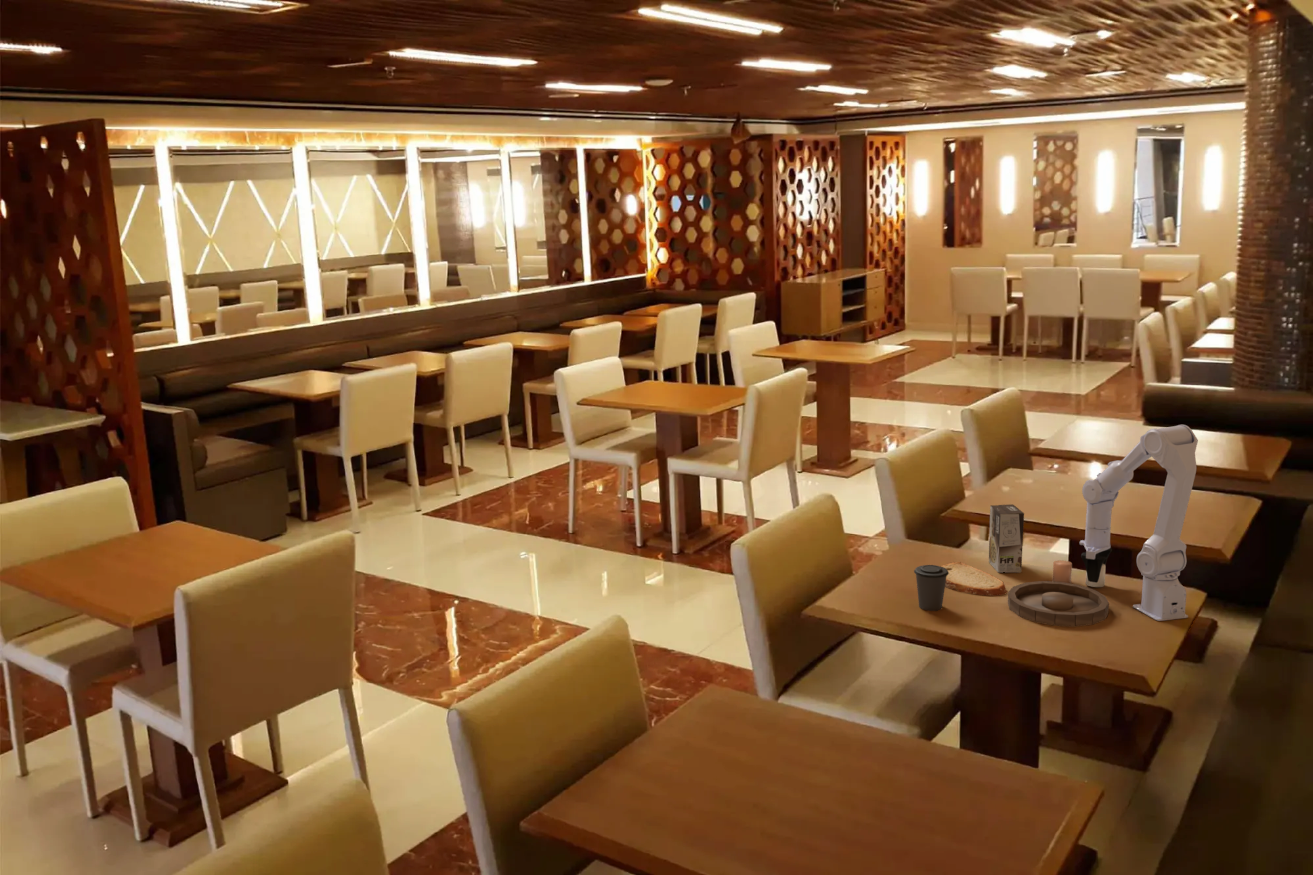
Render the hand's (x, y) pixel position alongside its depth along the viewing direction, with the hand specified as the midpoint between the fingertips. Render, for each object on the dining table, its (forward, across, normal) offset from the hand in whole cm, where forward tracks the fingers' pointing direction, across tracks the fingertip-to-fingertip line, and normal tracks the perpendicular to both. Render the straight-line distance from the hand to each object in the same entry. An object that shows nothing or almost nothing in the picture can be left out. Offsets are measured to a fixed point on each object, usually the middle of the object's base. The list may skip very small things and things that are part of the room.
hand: (1095, 578), depth 266 cm
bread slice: (+3, +12, -28) cm, 31 cm away
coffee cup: (+2, +33, -30) cm, 45 cm away
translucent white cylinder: (+2, 0, 0) cm, 2 cm away
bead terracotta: (+2, +1, -8) cm, 8 cm away
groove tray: (+2, +20, -4) cm, 20 cm away
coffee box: (+2, -4, -23) cm, 24 cm away
